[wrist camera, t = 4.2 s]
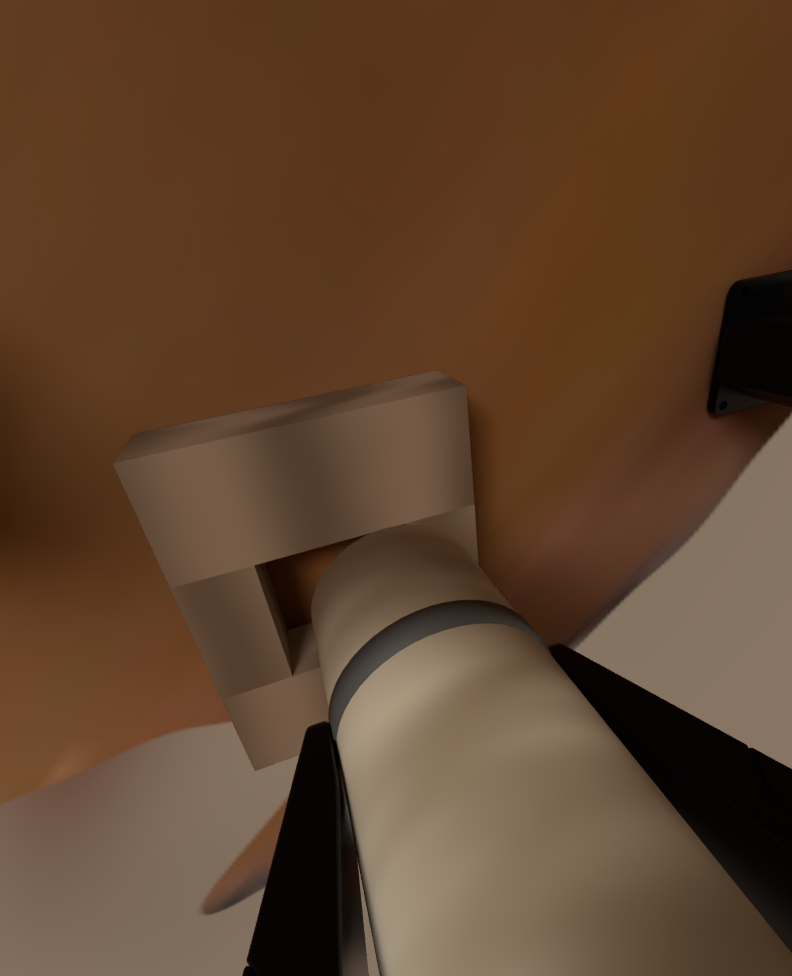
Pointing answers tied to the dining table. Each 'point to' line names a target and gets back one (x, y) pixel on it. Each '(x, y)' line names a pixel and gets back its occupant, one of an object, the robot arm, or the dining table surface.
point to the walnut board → (291, 524)
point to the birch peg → (503, 791)
